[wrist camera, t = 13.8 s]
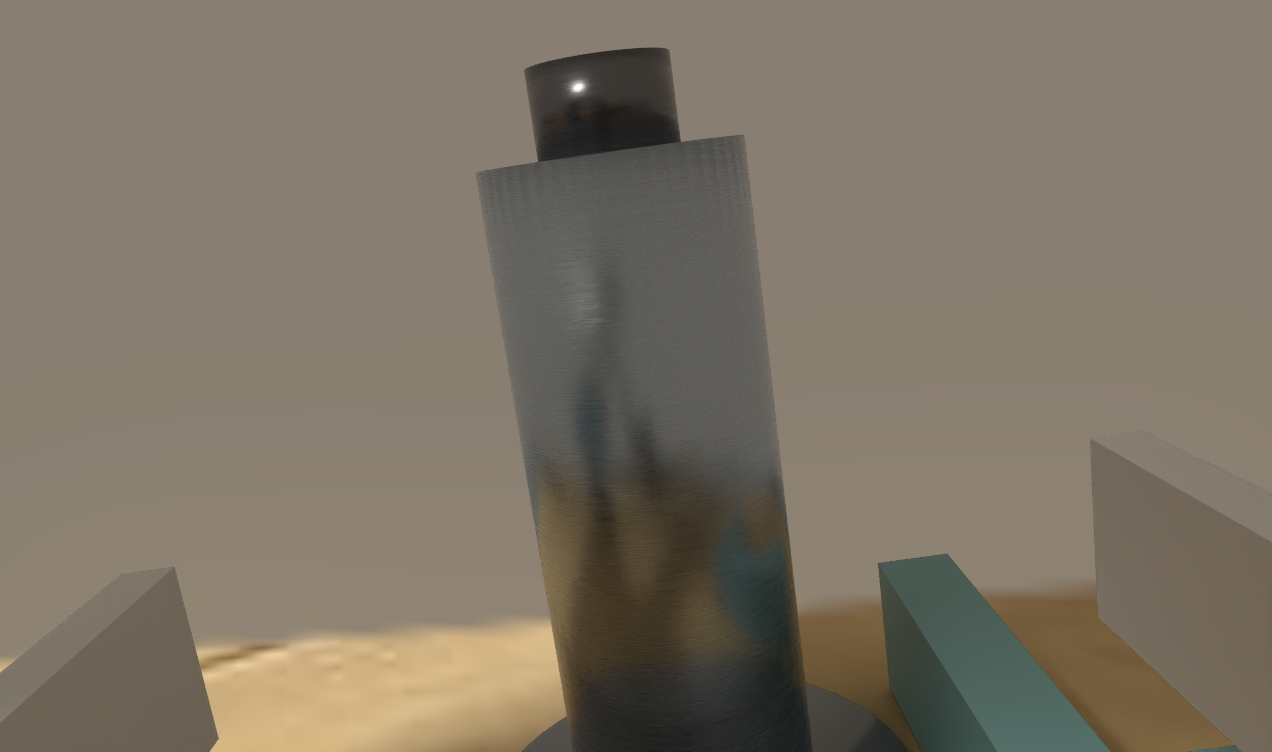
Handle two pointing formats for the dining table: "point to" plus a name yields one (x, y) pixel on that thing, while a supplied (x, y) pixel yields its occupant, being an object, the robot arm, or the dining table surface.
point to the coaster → (840, 729)
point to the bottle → (647, 416)
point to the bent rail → (969, 669)
